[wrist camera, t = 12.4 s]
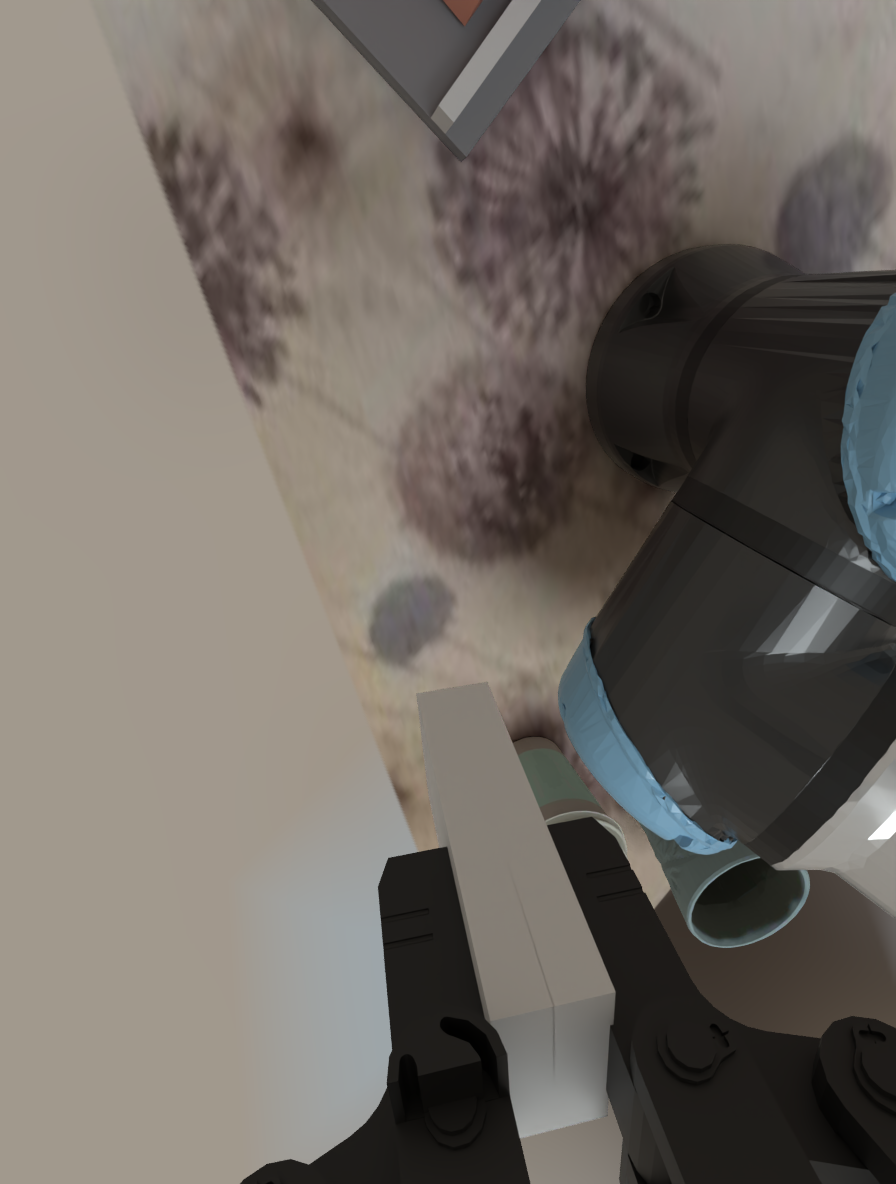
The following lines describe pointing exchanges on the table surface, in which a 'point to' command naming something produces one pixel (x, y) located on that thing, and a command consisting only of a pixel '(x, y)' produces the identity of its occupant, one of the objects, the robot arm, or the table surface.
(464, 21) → the orange brown-topped block
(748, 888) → the teal cup
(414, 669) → the table surface
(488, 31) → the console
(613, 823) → the coffee cup
